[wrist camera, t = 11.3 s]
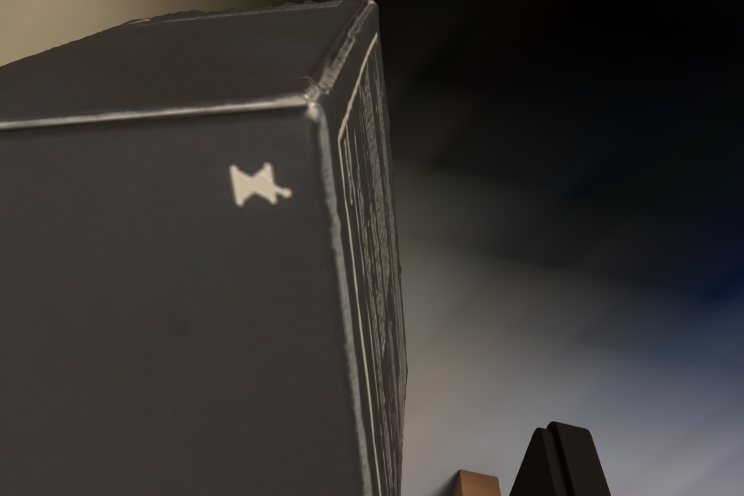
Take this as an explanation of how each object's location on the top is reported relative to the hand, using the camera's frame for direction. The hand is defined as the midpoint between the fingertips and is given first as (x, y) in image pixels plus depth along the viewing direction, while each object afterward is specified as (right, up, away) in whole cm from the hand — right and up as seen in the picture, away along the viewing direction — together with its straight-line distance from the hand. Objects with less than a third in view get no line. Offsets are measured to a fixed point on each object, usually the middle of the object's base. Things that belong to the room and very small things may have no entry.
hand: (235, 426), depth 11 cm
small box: (0, +4, +8) cm, 9 cm away
